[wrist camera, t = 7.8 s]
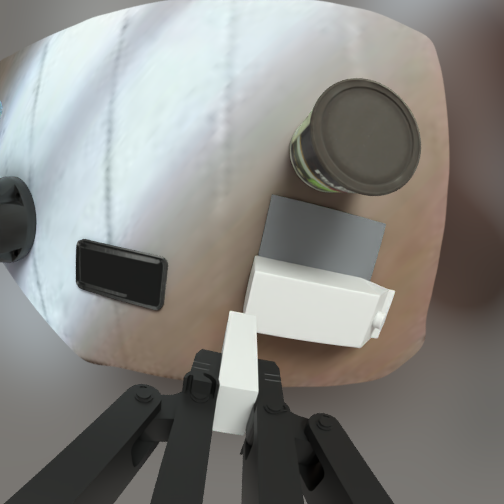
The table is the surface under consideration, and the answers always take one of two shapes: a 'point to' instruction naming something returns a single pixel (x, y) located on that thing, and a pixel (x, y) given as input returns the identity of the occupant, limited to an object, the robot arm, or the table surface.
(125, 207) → the table surface
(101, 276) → the phone
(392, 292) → the milk carton
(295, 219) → the mat
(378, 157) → the coffee can
